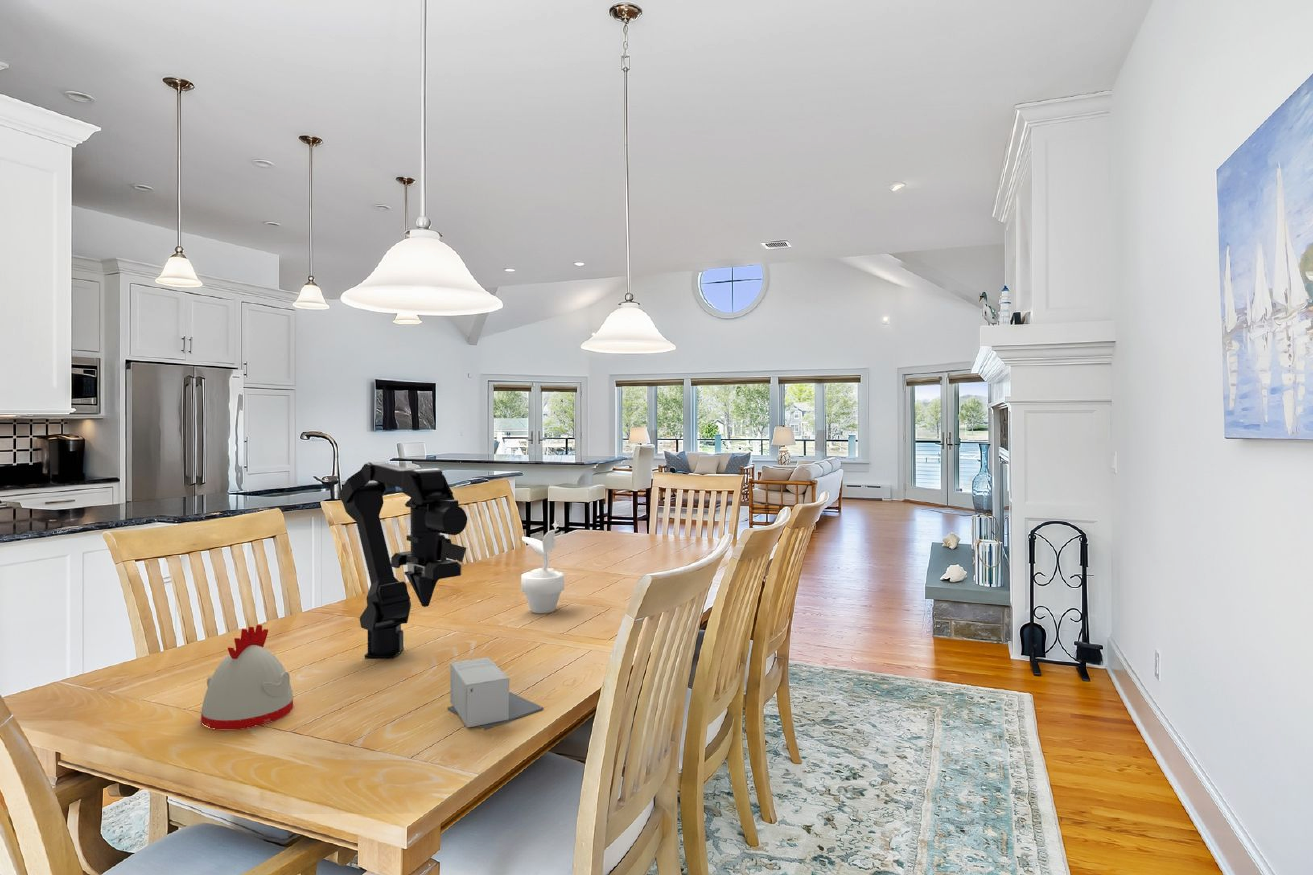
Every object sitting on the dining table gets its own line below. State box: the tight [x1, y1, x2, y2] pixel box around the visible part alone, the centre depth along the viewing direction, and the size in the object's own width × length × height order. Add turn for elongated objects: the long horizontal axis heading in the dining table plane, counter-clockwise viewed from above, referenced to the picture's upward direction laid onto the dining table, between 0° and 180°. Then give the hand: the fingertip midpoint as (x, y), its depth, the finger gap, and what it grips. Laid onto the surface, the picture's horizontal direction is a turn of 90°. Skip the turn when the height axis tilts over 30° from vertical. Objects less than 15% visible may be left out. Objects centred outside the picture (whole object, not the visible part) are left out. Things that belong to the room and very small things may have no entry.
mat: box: [447, 691, 545, 730], centre depth 128 cm, size 12×12×1 cm
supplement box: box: [449, 656, 510, 728], centre depth 126 cm, size 7×7×13 cm
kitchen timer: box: [200, 624, 294, 730], centre depth 125 cm, size 14×14×15 cm
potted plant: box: [520, 518, 565, 615], centre depth 194 cm, size 13×12×25 cm
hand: (425, 606), depth 148 cm, fingers closed
